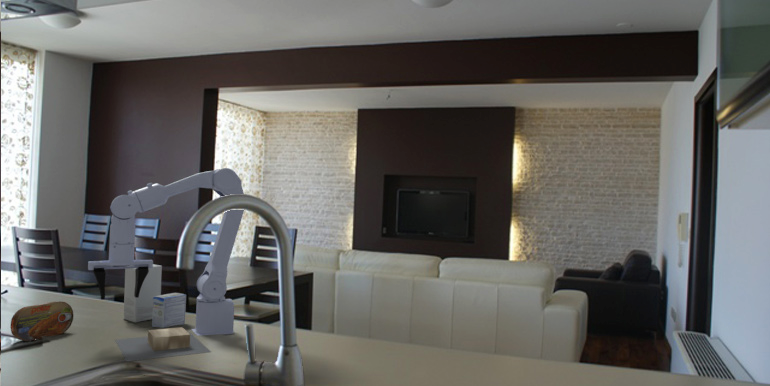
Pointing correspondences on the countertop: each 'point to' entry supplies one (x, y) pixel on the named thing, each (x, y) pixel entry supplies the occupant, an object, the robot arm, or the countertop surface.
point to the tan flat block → (168, 338)
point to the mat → (142, 350)
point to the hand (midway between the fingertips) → (119, 297)
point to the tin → (41, 320)
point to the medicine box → (169, 310)
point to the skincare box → (141, 294)
